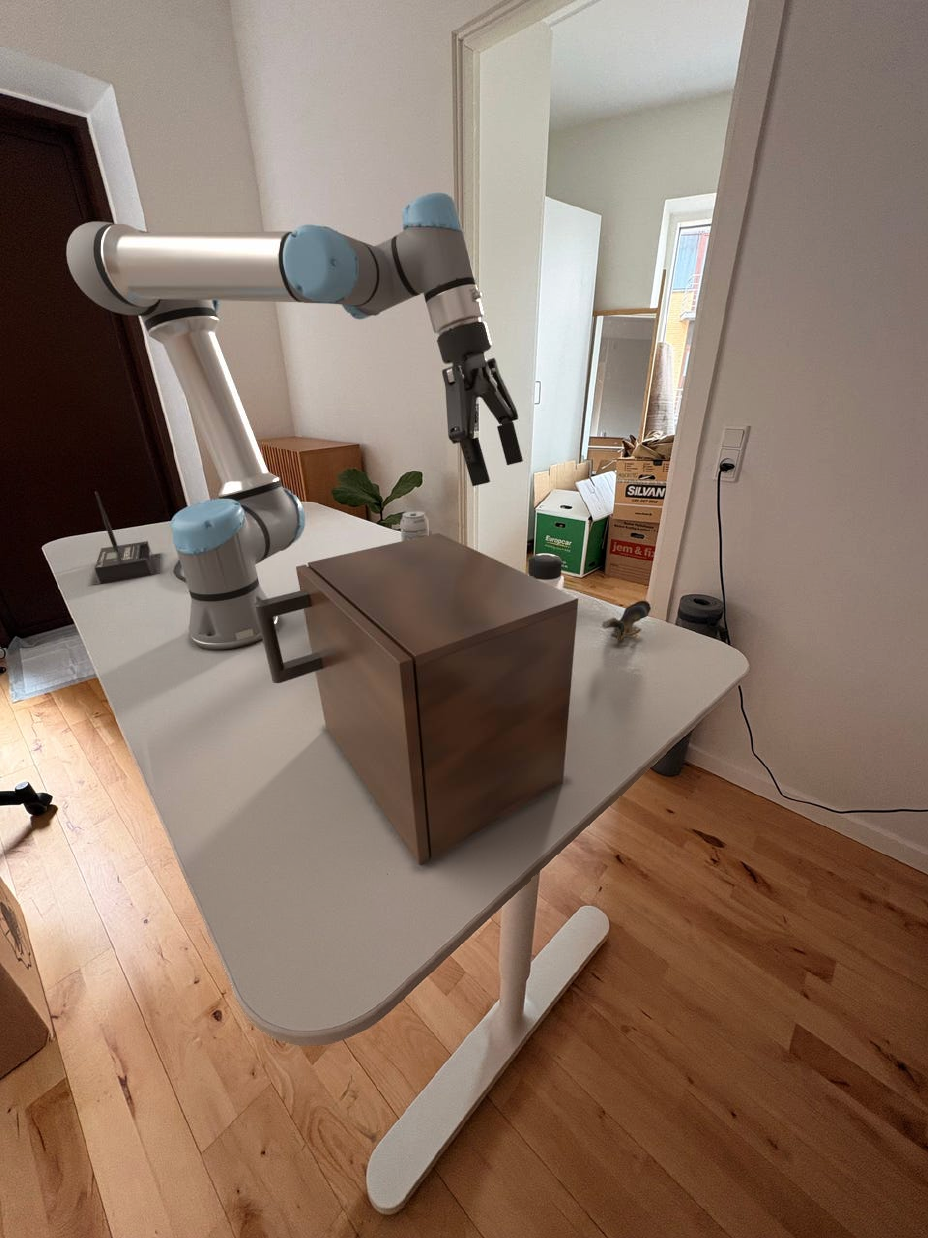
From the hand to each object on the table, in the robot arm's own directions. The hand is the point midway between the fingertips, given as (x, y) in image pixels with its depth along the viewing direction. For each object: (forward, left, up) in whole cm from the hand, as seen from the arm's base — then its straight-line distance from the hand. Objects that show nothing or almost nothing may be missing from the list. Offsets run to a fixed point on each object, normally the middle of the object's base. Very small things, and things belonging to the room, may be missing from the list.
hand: (499, 473), depth 82 cm
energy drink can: (-30, 0, -28) cm, 41 cm away
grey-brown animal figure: (+16, +16, -28) cm, 36 cm away
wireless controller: (-82, -55, -28) cm, 102 cm away
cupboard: (+22, -26, -28) cm, 44 cm away
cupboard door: (+22, -39, -28) cm, 53 cm away
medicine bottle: (+1, +10, -28) cm, 30 cm away
